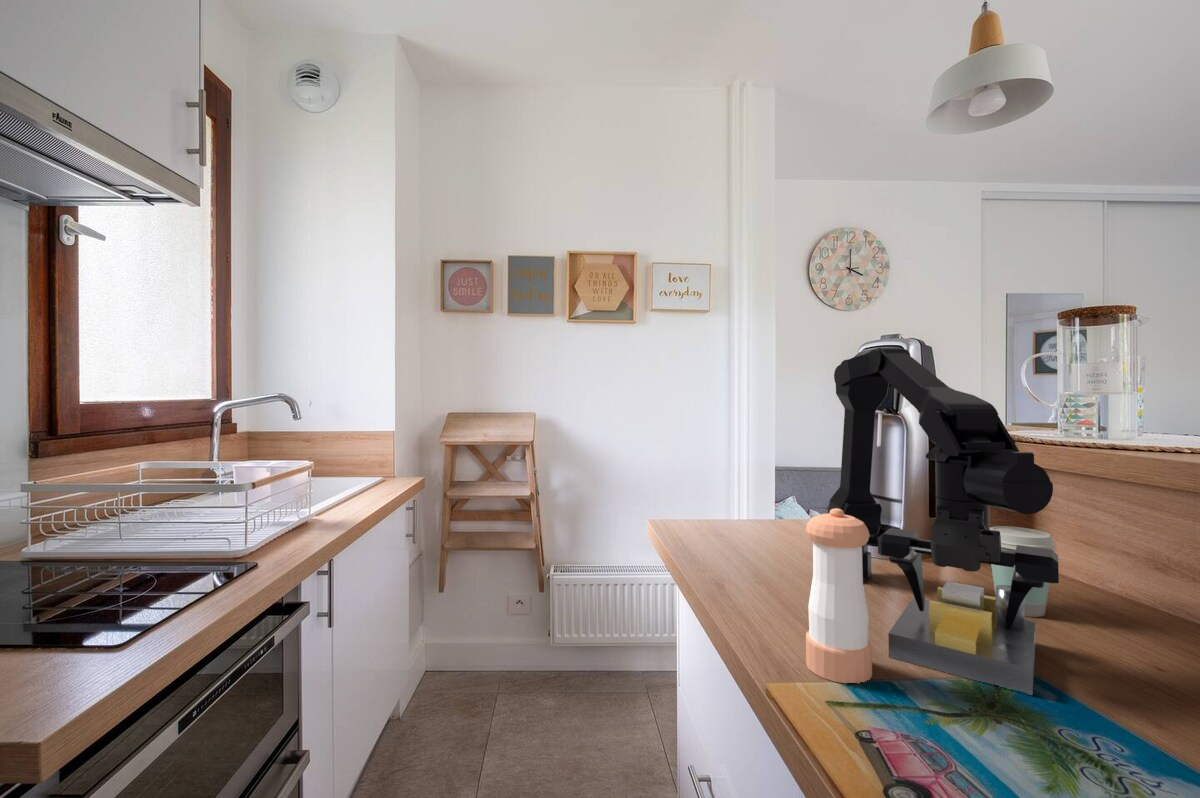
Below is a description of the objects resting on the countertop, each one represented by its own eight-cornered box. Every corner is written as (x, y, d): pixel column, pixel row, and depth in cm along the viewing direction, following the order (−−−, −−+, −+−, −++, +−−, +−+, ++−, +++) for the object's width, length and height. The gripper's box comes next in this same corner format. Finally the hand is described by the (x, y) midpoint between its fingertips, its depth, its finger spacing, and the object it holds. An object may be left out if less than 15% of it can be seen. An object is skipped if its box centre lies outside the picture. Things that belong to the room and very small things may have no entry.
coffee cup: (1071, 622, 77) (1070, 539, 77) (1004, 618, 78) (1003, 537, 78) (1035, 601, 85) (1034, 526, 85) (975, 597, 87) (974, 524, 87)
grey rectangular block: (942, 651, 68) (941, 589, 68) (947, 640, 71) (947, 581, 71) (980, 661, 65) (979, 596, 65) (984, 649, 68) (983, 587, 68)
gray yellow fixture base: (888, 656, 66) (888, 597, 67) (913, 617, 79) (913, 566, 79) (1032, 696, 57) (1031, 627, 58) (1035, 644, 70) (1034, 587, 70)
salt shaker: (840, 689, 59) (839, 517, 59) (792, 660, 66) (791, 506, 66) (886, 676, 62) (884, 511, 62) (836, 649, 69) (834, 501, 69)
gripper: (866, 498, 68) (867, 620, 68) (1058, 518, 56) (1060, 666, 56) (887, 488, 77) (888, 596, 77) (1057, 503, 65) (1058, 631, 64)
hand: (963, 619), depth 68 cm, fingers open, 9 cm apart
